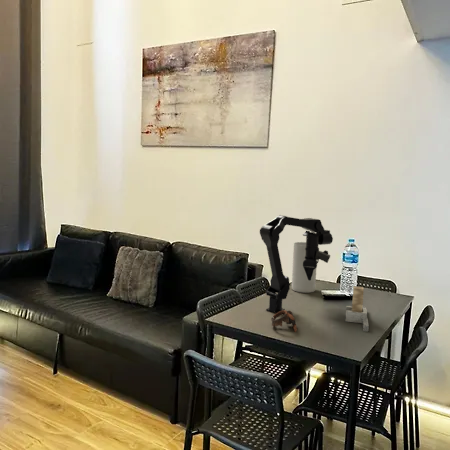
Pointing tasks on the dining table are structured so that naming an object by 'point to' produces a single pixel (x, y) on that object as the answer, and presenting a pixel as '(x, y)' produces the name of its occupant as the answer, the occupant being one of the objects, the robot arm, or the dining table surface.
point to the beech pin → (357, 299)
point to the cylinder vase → (301, 271)
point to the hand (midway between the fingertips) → (310, 278)
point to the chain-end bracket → (357, 317)
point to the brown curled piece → (284, 319)
